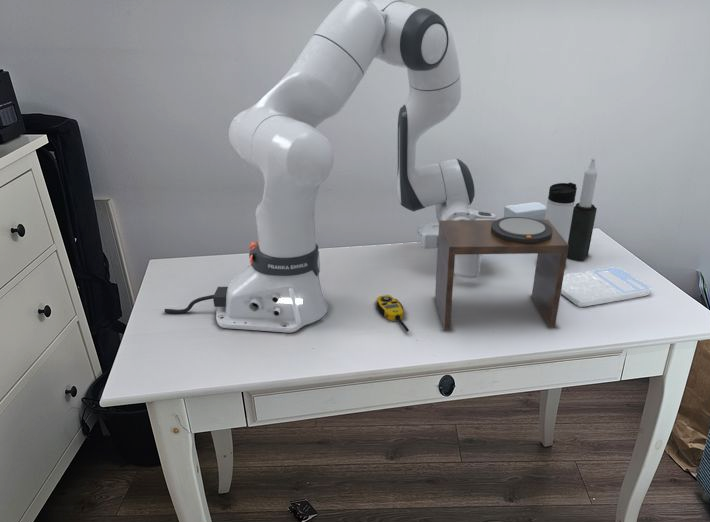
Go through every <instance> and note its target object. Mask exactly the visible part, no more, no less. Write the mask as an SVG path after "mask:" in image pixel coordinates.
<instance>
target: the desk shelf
mask: <svg viewBox="0 0 710 522" xmlns="http://www.w3.org/2000/svg"><path fill="white" fill-rule="evenodd" d="M496 220H497V219H496ZM496 220H439V232H438V248H437V253H436V254H437V256H436V275H435V293H434V294H435V295H434V300H435V304H436V307H437V311H438V314H439V317H440V320H441V324H442V328H443V331H446V332H447V331H451V321H452V320H451V319H452V308H453V307H452V304H453V290H454V275H455V274H454V264H455V255H463V254H481V255H517V254H518V255H519V254H521V255H522V254H523V255H524V254H525V255H527V254H528V255H529V254H530V255H531V254H536V255H537V256H536V263H535V271H534V278H533V284H532V290H531V291H532V292H531V298H532V300H533V302H534V304H535V305H536V307H537V308H538V310H539V312H540V314H541V315H542V318H543V319H544V321H545V323H546V324H547V326H548V327H549V328H550V329H552V328H556V323H557V317H558V311H559V305H560V300H561V295H562V294H561V289H562V283H563V277H564V275H565V271H566V265H567V259H568V258H567V253H568V248H569V245H568V244H567V242H566V241H565V240H564V239H563V238H562V236H561V235H560V234H559V233H558V231H557V230H556V229H555V228H554V226H553V225H552V224H551V223H550V221H549V220H539V221H542V222H545V223H547V224H548V225H550V226H551V227H552V230H553V232H552V237H551V238H550V239H549V240H547V241H544V242H540V243H532V244H524V243H515V242H510V241H506V240H503V239H500V238H498V237H496V236H495V235H494V234H493V233H492V232H491V225H492V223H493V222H494V221H496Z"/></svg>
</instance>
